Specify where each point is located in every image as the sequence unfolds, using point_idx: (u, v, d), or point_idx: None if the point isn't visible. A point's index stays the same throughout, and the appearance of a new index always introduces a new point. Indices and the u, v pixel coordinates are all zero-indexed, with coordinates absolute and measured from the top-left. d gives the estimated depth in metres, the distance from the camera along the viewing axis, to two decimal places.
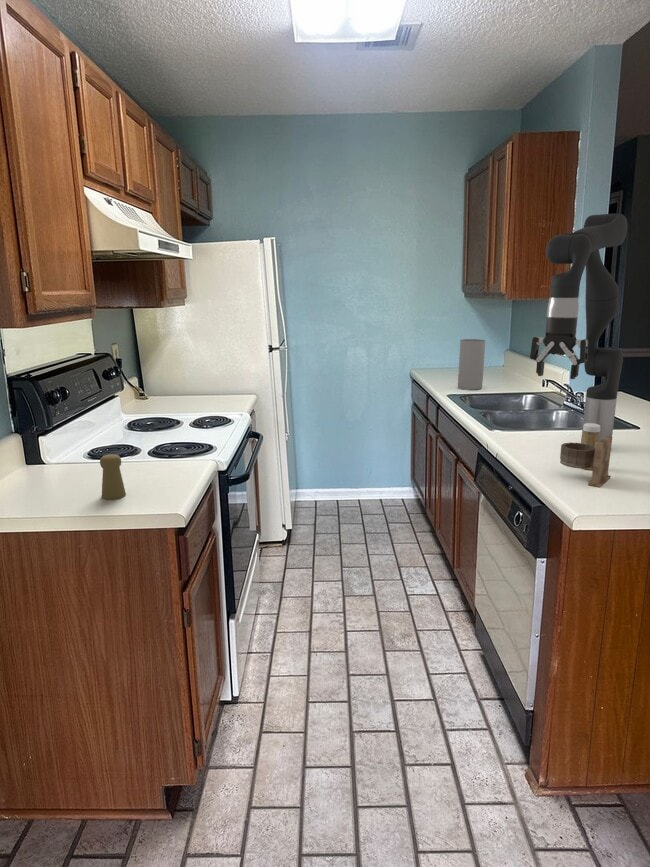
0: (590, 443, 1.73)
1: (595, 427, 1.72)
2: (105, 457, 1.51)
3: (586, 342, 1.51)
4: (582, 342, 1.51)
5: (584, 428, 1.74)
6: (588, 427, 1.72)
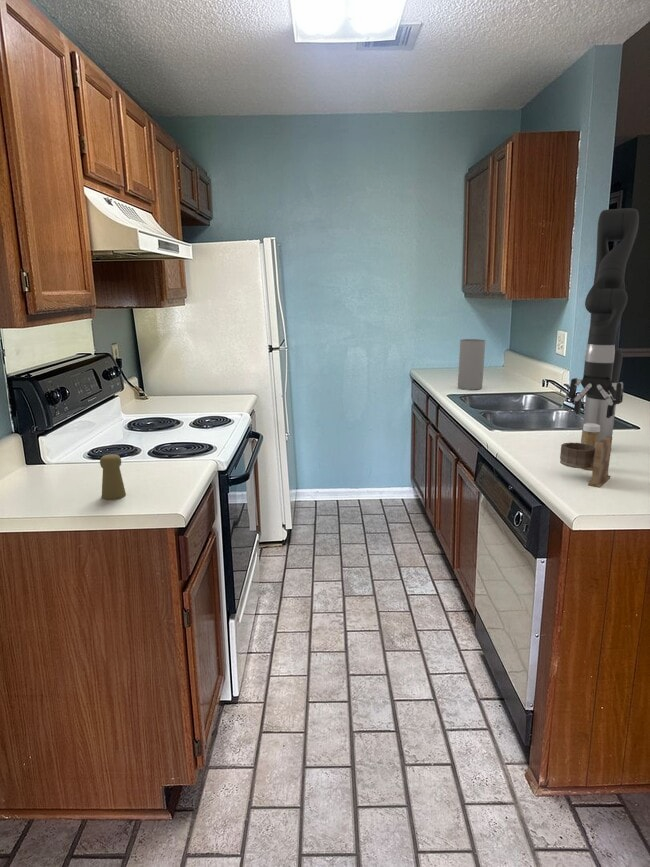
0: (590, 443, 1.73)
1: (595, 427, 1.72)
2: (105, 457, 1.51)
3: (622, 385, 1.66)
4: (618, 385, 1.66)
5: (584, 428, 1.74)
6: (588, 427, 1.72)
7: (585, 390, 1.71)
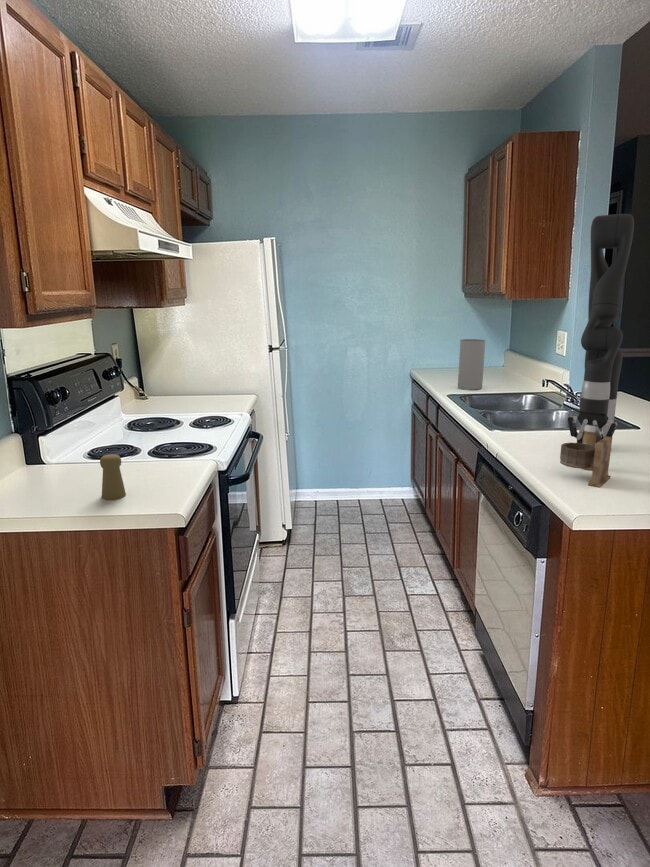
0: (590, 443, 1.73)
1: (595, 427, 1.72)
2: (105, 457, 1.51)
3: (616, 426, 1.69)
4: (612, 425, 1.69)
5: None
6: (588, 427, 1.72)
7: (583, 426, 1.74)
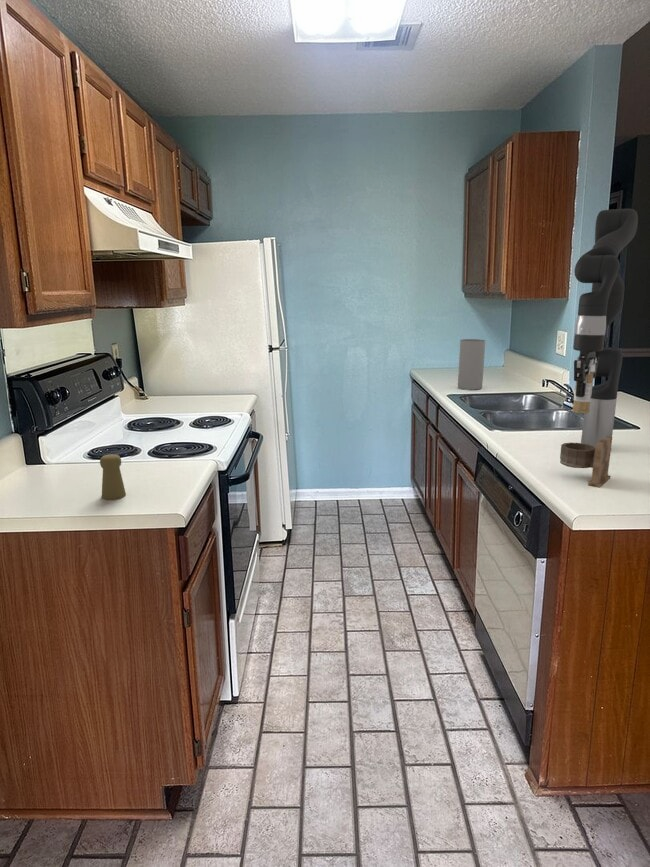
0: None
1: None
2: (105, 457, 1.51)
3: (577, 364, 1.56)
4: None
5: None
6: None
7: None
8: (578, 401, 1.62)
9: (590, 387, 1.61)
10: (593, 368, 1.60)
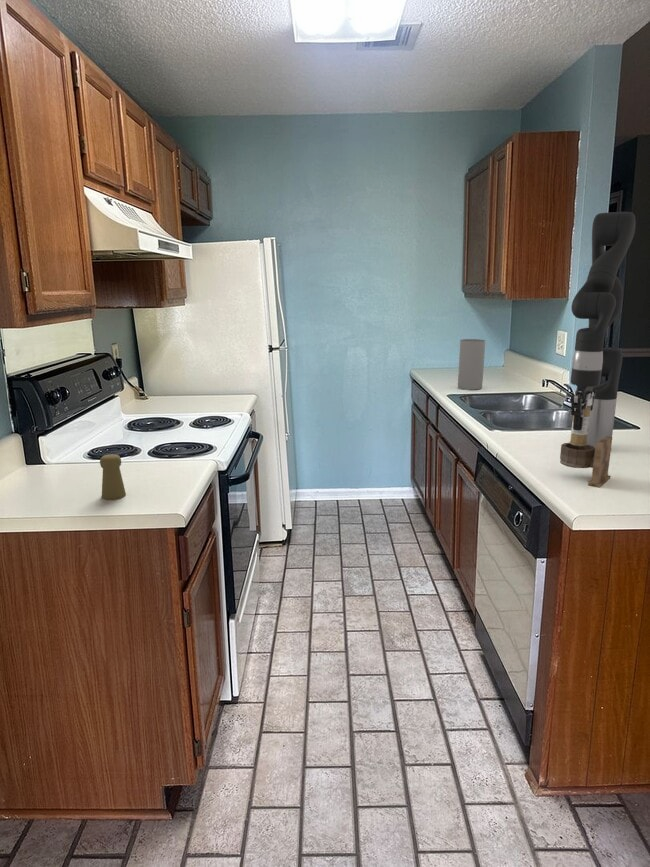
0: None
1: None
2: (105, 457, 1.51)
3: (574, 399, 1.58)
4: None
5: None
6: None
7: None
8: (575, 434, 1.64)
9: (587, 420, 1.63)
10: (590, 402, 1.62)
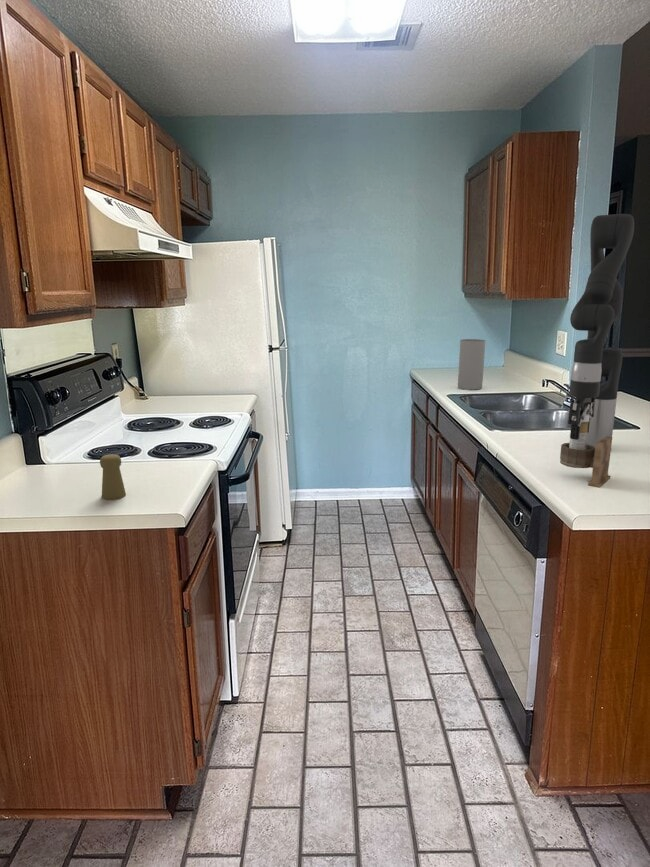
0: None
1: None
2: (105, 457, 1.51)
3: (573, 406, 1.59)
4: None
5: None
6: None
7: None
8: None
9: (585, 436, 1.64)
10: (588, 418, 1.63)
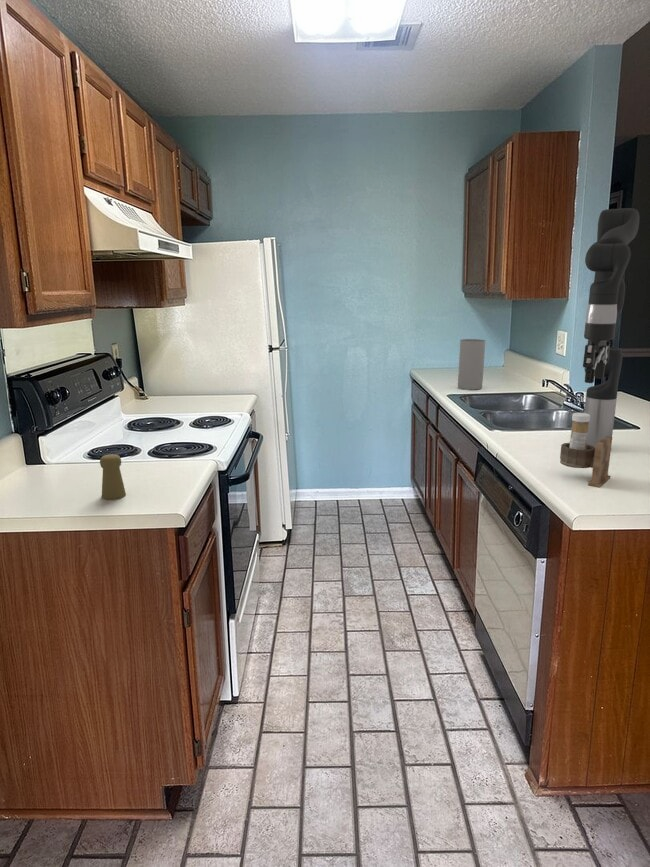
0: (571, 431, 1.66)
1: (573, 415, 1.64)
2: (105, 457, 1.51)
3: (588, 348, 1.57)
4: None
5: None
6: None
7: None
8: None
9: (585, 437, 1.64)
10: (588, 418, 1.63)
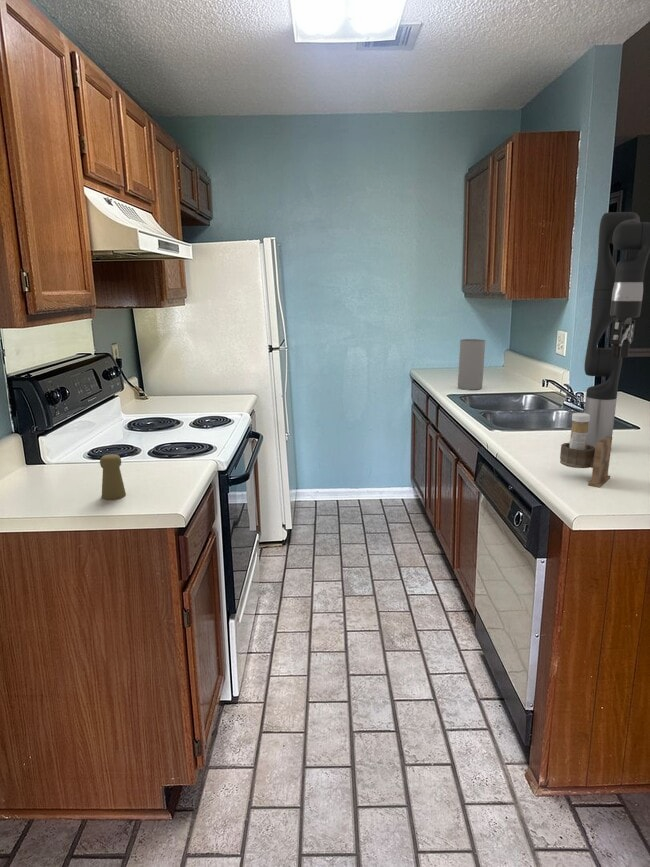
0: (571, 431, 1.66)
1: (573, 415, 1.64)
2: (105, 457, 1.51)
3: (615, 324, 1.59)
4: None
5: None
6: None
7: None
8: None
9: (585, 437, 1.64)
10: (588, 418, 1.63)
